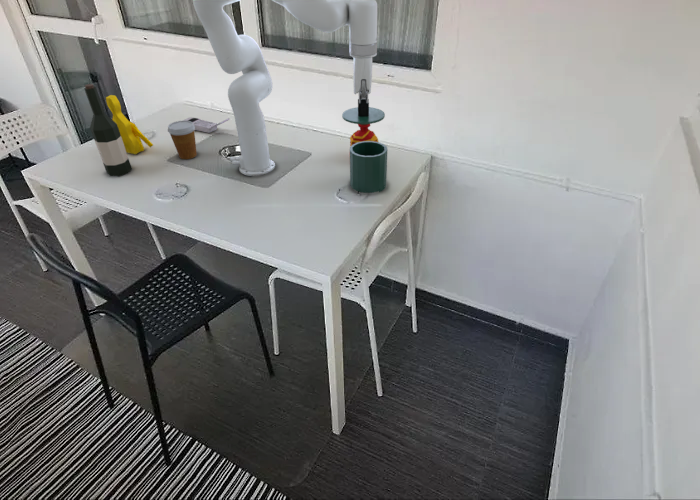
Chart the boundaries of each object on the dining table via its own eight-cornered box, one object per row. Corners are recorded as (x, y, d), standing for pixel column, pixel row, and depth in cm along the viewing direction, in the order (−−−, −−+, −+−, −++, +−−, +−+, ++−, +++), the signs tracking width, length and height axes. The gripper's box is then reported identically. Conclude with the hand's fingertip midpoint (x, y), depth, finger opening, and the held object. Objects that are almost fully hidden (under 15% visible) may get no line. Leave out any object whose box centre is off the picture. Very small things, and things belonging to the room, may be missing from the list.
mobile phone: (221, 122, 179) (173, 113, 188) (223, 137, 183) (176, 126, 192) (230, 117, 184) (183, 108, 193) (232, 131, 187) (186, 122, 196)
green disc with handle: (341, 126, 132) (341, 103, 128) (342, 111, 142) (342, 89, 138) (385, 125, 132) (386, 103, 128) (383, 110, 142) (384, 88, 138)
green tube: (350, 194, 145) (349, 157, 137) (350, 177, 155) (349, 141, 147) (386, 194, 145) (388, 156, 137) (384, 176, 154) (386, 140, 147)
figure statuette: (159, 151, 173) (142, 93, 160) (144, 159, 168) (125, 100, 154) (124, 144, 179) (105, 87, 166) (109, 152, 173) (88, 94, 160)
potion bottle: (375, 167, 160) (376, 126, 151) (347, 165, 162) (346, 124, 153) (380, 154, 168) (381, 115, 159) (352, 152, 170) (352, 113, 161)
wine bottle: (137, 168, 162) (109, 82, 144) (118, 178, 156) (87, 90, 138) (120, 164, 165) (90, 80, 147) (101, 173, 159) (68, 87, 141)
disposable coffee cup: (169, 159, 168) (160, 128, 161) (186, 148, 175) (178, 118, 168) (190, 163, 165) (182, 131, 158) (206, 152, 172) (199, 121, 165)
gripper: (349, 42, 132) (351, 105, 143) (349, 57, 119) (350, 124, 130) (375, 42, 131) (374, 104, 143) (378, 56, 119) (376, 124, 130)
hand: (363, 113), depth 136 cm, fingers closed on green disc with handle, 2 cm apart
